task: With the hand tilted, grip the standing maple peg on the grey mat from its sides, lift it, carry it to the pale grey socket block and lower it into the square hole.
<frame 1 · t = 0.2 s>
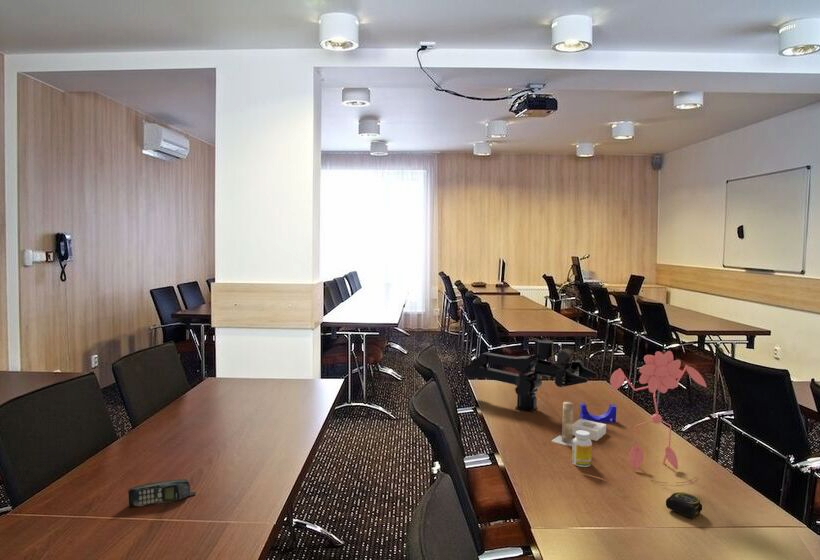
hand: (592, 377, 194), 16 cm above the table, fingers open, 9 cm apart
mat: (566, 442, 176), on the table
tape measure: (684, 514, 131), on the table
mobile phone: (163, 502, 134), on the table
block: (588, 434, 183), on the table
figurine: (657, 473, 154), on the table
supplement bottle: (581, 465, 159), on the table
cable clip: (598, 422, 197), on the table
peg: (566, 441, 176), resting on mat
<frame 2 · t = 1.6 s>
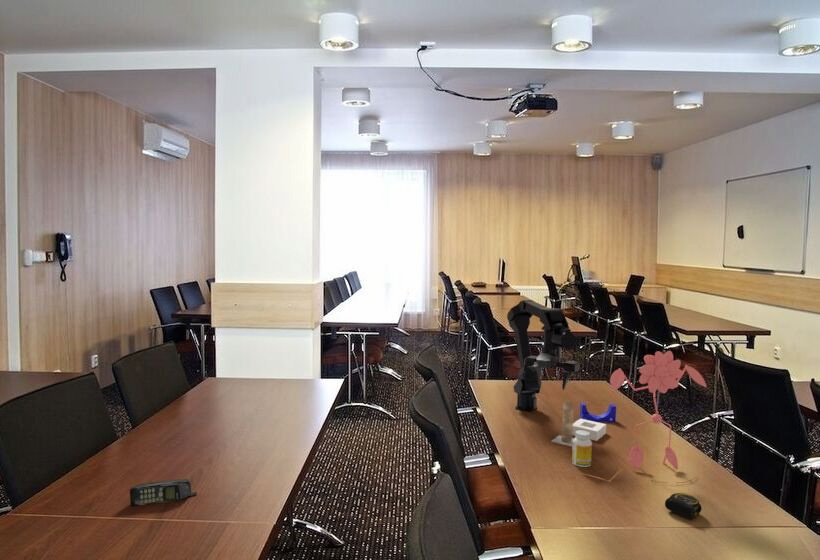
hand: (551, 387, 193), 13 cm above the table, fingers open, 9 cm apart
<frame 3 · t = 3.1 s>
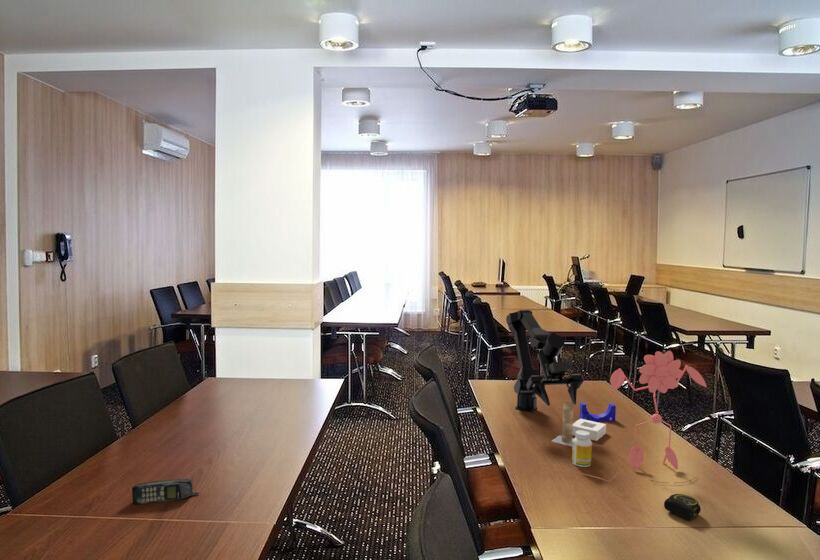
hand: (562, 404, 179), 11 cm above the table, fingers open, 9 cm apart
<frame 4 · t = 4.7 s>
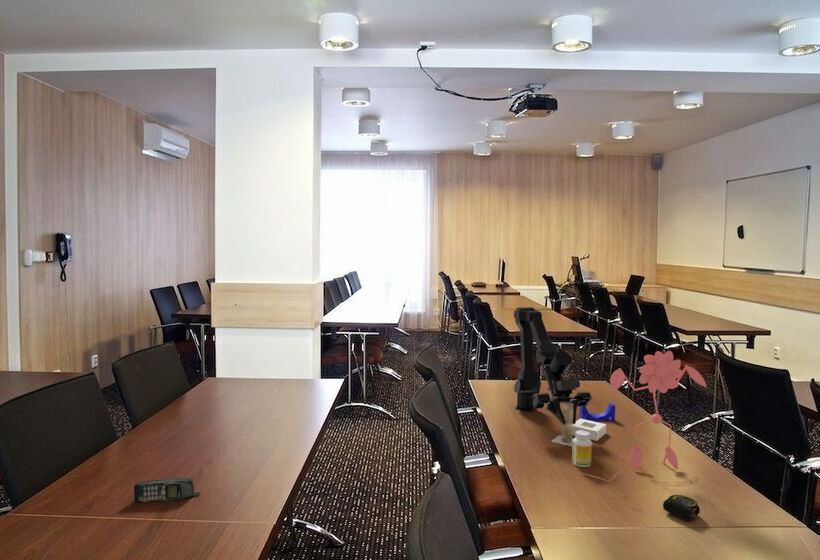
hand: (569, 423, 174), 7 cm above the table, fingers closed on peg, 3 cm apart
peg: (566, 441, 176), resting on mat, touching gripper
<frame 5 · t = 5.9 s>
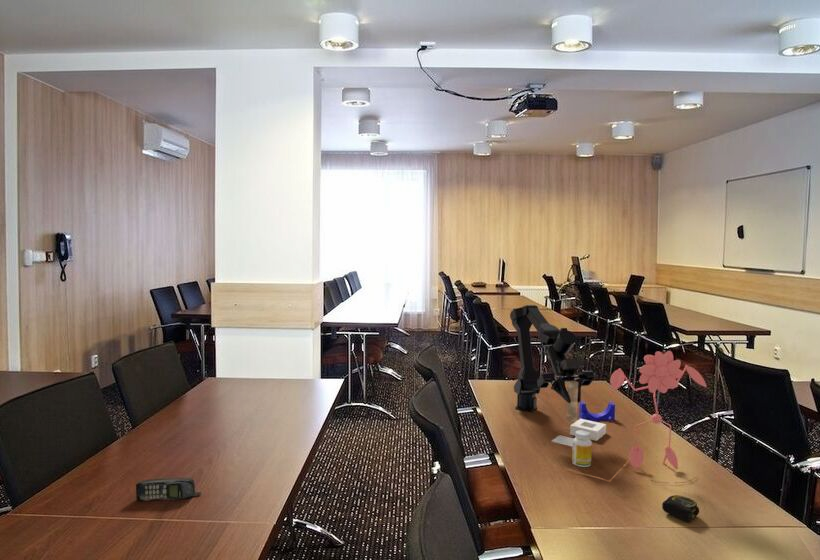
hand: (574, 402, 175), 13 cm above the table, fingers closed on peg, 3 cm apart
peg: (571, 419, 176), point 7 cm above the table, touching gripper
when the fingers open (8 cm above the table, at t = 7.8 s): peg drops 2 cm, resting in block.
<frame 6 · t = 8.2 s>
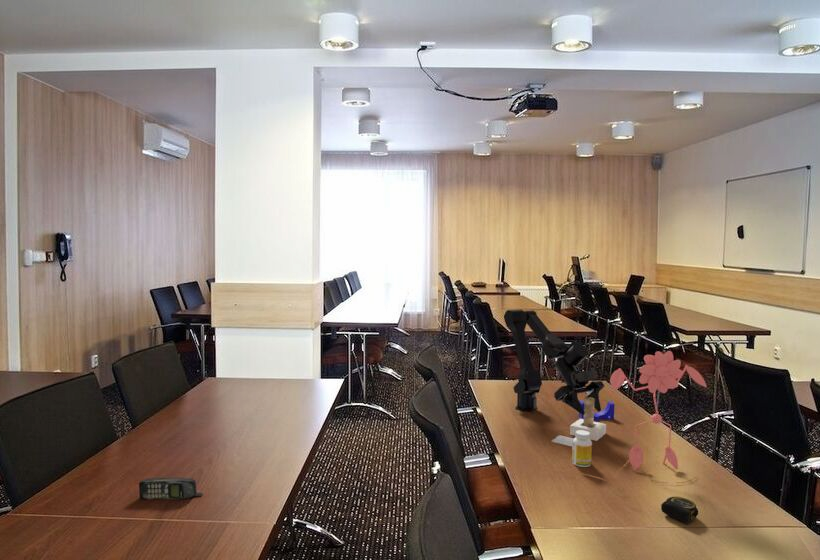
hand: (592, 412, 181), 8 cm above the table, fingers open, 7 cm apart
peg: (587, 434, 183), resting in block
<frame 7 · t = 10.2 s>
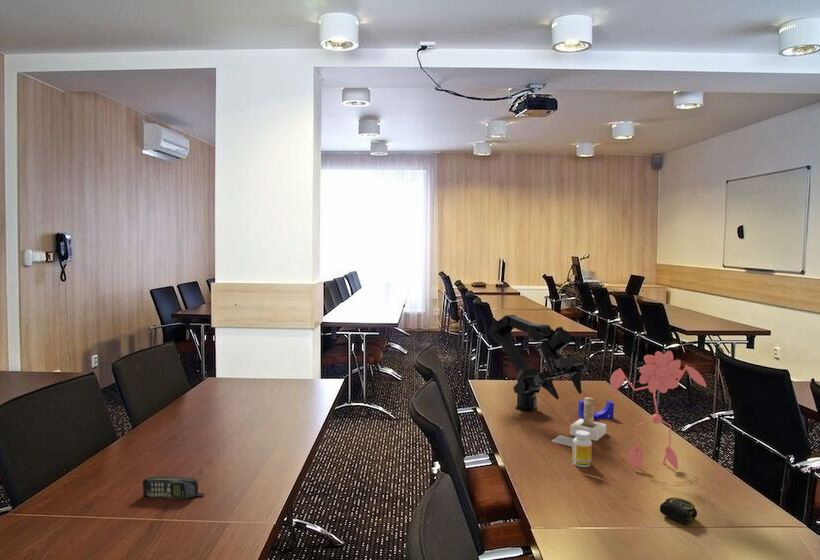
hand: (569, 396, 190), 11 cm above the table, fingers open, 9 cm apart
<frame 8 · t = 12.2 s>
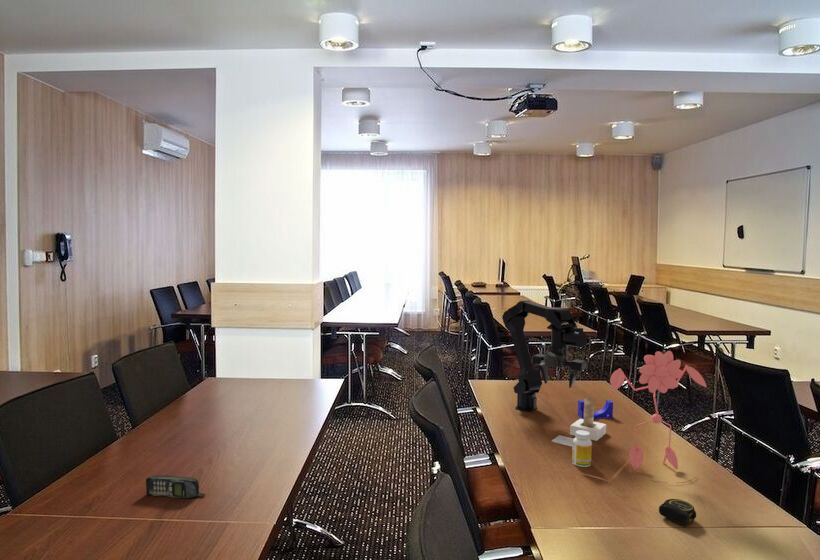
hand: (557, 385, 196), 13 cm above the table, fingers open, 9 cm apart
at the end: peg 0.0 cm off-centre on the block, point 0.0 cm above the block's base; peg tilted 0°; the gripper is holding nothing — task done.
